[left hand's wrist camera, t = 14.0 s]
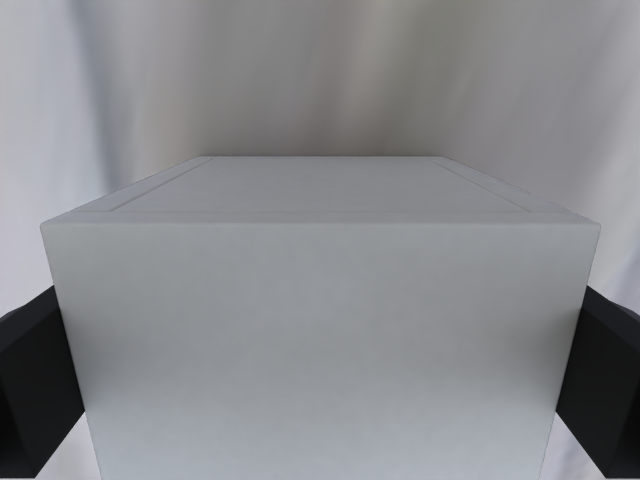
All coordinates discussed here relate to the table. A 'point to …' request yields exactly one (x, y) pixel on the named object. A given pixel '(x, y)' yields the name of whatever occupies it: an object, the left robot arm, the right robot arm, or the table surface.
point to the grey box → (320, 319)
